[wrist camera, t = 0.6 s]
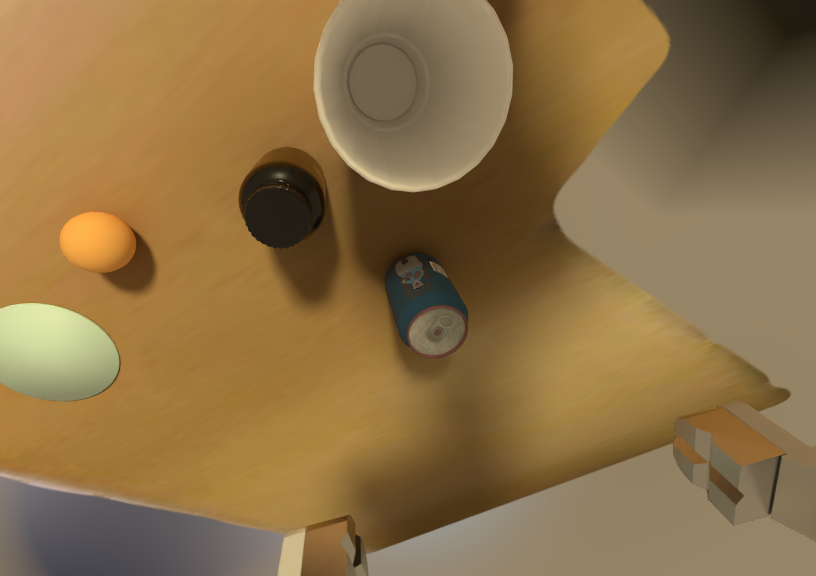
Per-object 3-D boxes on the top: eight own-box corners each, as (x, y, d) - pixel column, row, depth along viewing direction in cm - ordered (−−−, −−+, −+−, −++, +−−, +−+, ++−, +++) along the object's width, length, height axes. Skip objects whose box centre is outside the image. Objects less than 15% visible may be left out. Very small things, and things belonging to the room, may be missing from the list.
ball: (71, 204, 37) (34, 223, 32) (137, 204, 38) (110, 223, 33) (90, 258, 40) (58, 284, 35) (151, 257, 41) (128, 282, 36)
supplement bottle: (339, 174, 40) (345, 211, 30) (301, 227, 42) (294, 278, 32) (278, 129, 37) (260, 151, 27) (240, 187, 39) (210, 230, 29)
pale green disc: (-50, 306, 39) (-52, 307, 39) (99, 299, 42) (98, 300, 42) (6, 405, 45) (5, 406, 45) (133, 394, 48) (132, 395, 48)
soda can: (419, 310, 50) (444, 373, 39) (372, 285, 47) (386, 346, 36) (453, 266, 48) (489, 320, 37) (406, 237, 45) (431, 288, 34)
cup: (332, -17, 33) (338, -81, 19) (462, 34, 36) (547, 12, 23) (306, 131, 38) (296, 166, 24) (423, 164, 41) (473, 211, 27)
